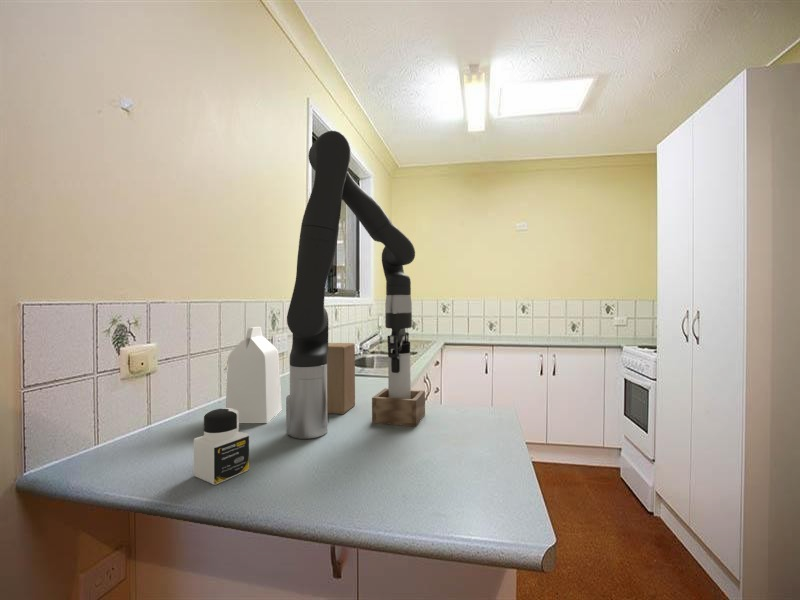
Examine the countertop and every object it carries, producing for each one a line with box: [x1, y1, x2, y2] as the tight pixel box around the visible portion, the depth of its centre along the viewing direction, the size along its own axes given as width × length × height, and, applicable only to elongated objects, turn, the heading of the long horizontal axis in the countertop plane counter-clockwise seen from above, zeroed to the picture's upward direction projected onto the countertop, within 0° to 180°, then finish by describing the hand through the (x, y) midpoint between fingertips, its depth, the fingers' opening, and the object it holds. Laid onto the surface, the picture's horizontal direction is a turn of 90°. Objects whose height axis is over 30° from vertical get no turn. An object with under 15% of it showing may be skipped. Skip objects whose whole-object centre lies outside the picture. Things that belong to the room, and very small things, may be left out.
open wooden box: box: [371, 388, 426, 427], centre depth 103 cm, size 12×11×7 cm
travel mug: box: [387, 341, 412, 399], centre depth 103 cm, size 6×7×20 cm
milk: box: [225, 326, 283, 424], centre depth 105 cm, size 12×12×26 cm
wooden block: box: [327, 342, 356, 415], centre depth 112 cm, size 10×10×20 cm
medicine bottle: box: [193, 407, 250, 486], centre depth 70 cm, size 7×7×12 cm
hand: (398, 370), depth 103 cm, fingers closed on travel mug, 6 cm apart
